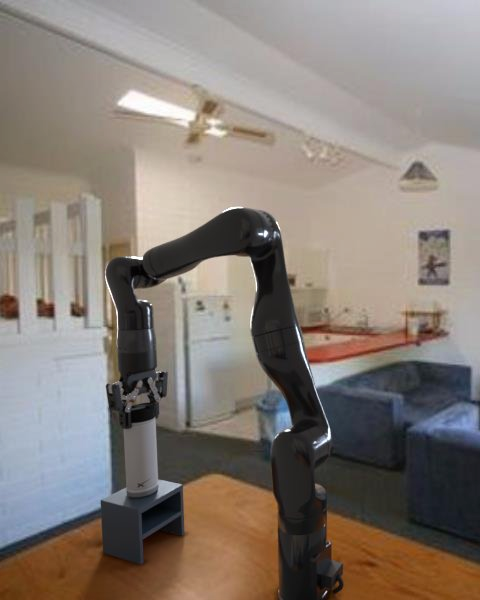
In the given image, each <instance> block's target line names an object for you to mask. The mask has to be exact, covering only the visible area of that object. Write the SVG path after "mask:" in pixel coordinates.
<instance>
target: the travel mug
mask: <svg viewBox="0 0 480 600" xmlns="http://www.w3.org/2000/svg"><path fill="white" fill-rule="evenodd" d="M148 402H149V403H148ZM148 402H142V403H137V404H132V406H131V409H130V411H131V425H132V427H131V428H129V429H123V446H124V467H125V483H126V484H125V486H126V487H127V488H126V487H125V488H126V490H127V495H128V496H129V497H133V498H139V497H144V496H148V495H150V494H152V493H154V492H155V491H157V489H158V479H159V468H158V446H157V445H158V444H157V423H156V422H157V421H156V419H155V403H153V402H150V401H148Z"/></svg>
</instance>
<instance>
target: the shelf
mask: <svg viewBox="0 0 480 600" xmlns="http://www.w3.org/2000/svg"><path fill="white" fill-rule="evenodd" d="M126 488H127V487H124V488H121V489H120V490H118V491H115V492H114V493H112V494H110V495H108V496H106V497H103V498H101V499H100V500H99V501H100V519H101V536H102V537H101V539H102V553H103V554H105V555H108V556H112V557H116V558H119V559H121V560H124V561H128V562H131V563H135V564H138V565H142V564H143V563H144V541H143V540H144V539H146V538H148V537H149V536H151V535H152V534H154V533H156V532H157V531H159V530H160V531H163V532H166V533H169V534H170V533H171V534H174V535H177V536H184V535H185V533H186V532H185V505H184V485H183V484H182V483H177V482H172V481H168V480H164V479H159V478H158V489H157V491H155V492H154V493H152V494H150V495H148V496H144V497H139V498H133V497H129V496H128V495H127V490H126Z"/></svg>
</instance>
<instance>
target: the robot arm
mask: <svg viewBox="0 0 480 600" xmlns="http://www.w3.org/2000/svg"><path fill="white" fill-rule="evenodd" d="M230 256H231V257H232V256H235V257H241V258H242V257H243V258H249V260H250V264H251V268H252V271H253V276H254V282H255V293H254V299H253V303H252V307H251V313H250V319H249V331H250V336H251V340H252V344H253V348H254V353H255V356H256V359H257V362H258V364H259V366H260V368H261V369H262V371H263V372H264V373H265V375H266V376H267V377H268V378H269V380H270V381H271V382H272V383H273V384H274V385H275V386H276V388H277V389H278V390H279V391H280V393H281V395H282V396H283V398H284V400H285V403H286V406H287V409H288V412H289V417H290V424H291V425H290V426H289V427H287V428H285V429H283V430H281V431H280V432H278V433H277V434H276V435H275V436H274V438H273V439H272V443H271V447H270V453H269V454H270V457H269V458H270V459H269V461H270V474H271V486H272V487H271V488H272V494H273V497H274V499H275V502H276V505H277V507H276V508H277V564H278V565H277V566H278V567H277V568H278V574H277V575H278V591H277V593H278V594H277V596H278V600H324V599H325V598H326V597H327V595H328V594H329V592H330V591H331V590H332V589H333V590H332V594H333V595H337V594H338V593H339V592H341V591H342V589H343V588H344V585H345V584H344V583H345V582H344V580H343V578H342V576H343V575H344V563H343V562H341V561H337V560H333V559H332V555H333V552H332V551H333V550H332V549H333V548H332V545H333V544H332V542H331V541H329V540H328V494H327V490H326V489H325V488H324V486H323V485H321V484H319V483H316V479H315V470H316V469H318V468H319V467H320V466H321V465H323V464H324V463H326V462H327V461H328V460H329V459H330V457H331V456H332V454H333V450H334V437H333V432H332V429H331V426H330V423H329V420H328V417H327V416H326V412H325V409H324V407H323V405H322V402H321V399H320V396H319V393H318V390H317V387H316V386H317V385H316V382H315V379H314V376H313V371H312V368H311V365H310V364H311V363H310V361H309V358H308V353H307V349H306V344H305V341H304V336H303V331H302V327H301V325H300V320H299V317H298V314H297V310H296V307H295V302H294V298H293V293H292V289H291V285H290V280H289V277H288V272H287V265H286V258H285V250H284V243H283V238H282V232H281V228H280V225H279V223H278V221H277V220H276V218H275V217H274V215H273V214H272V213H270V212H268V211H266V210H262V209H257V208H251V207H244V206H235V207H230V208H228V209H226V210H224V211H222V212H221V213H219V214H217V215H216V216H214V217H213V218H211V219H210V220H208V221H207V222H205V223H204V224H202V225H200V226H198V227H197V228H195V229H193V230H192V231H190V232H188V233H186V234H184V235H182V236H179V237H177V238H175V239H172V240H170V241H167V242H164V243H161V244H159V245H156V246H154V247H152V248H150V249H148V250H147V251H145V252H144V254H143V255H142V256H115V257H112V258H111V259H110V260H109V261H108V262H107V264H106V266H105V271H104V273H105V274H104V275H105V281H106V285H107V287H108V290H109V293H110V295H111V298H112V302H113V304H114V307H115V310H116V324H117V325H116V329H117V332H116V353H117V370H118V372H119V374H120V376H119V379H118V381H116V382H112V383H110V382H108V383H106V384H105V391H106V397H107V404H108V410H109V411H112V412H117V413H118V420H119V421H118V424H119V427H121V429H122V430H124V429H129V428H131V427H132V425H131V411H130V409H131V406H133V405H134V404H133V403H135V402H136V400H137V397H139V396H140V395H143V394H144V395H145V397H146V398H147V400H148V402H147V403H149V402H153V403H155V420H156V419H159V415H160V401H161V400H162V399H163V398H166V397H167V395H168V380H169V379H168V378H169V377H168V376H169V372H168V371H166V370H156V368H158V357H157V356H158V355H157V353H158V352H157V335H156V334H157V333H156V329H155V314H154V313H155V312H154V304H153V303H152V302H151V301H149V300H145V299H140V298H139V297H138V296H137V294H136V293H137V292H136V291H135V290H144V289H150V288H154V287H157V286H159V285H161V284H162V283H164V282H166V281H167V280H168V279H173V278H174V277H178V276H180V275H184V274H186V273H188V272H191V271H193V270H194V269H196V268H197V267H198V266H199V265H200V264H201V263H202V262H205V261H207V260H210V259H213V258H214V259H215V258H220V257H221V258H222V257H230ZM337 583H338V586H337V587H335V586H336V585H337ZM334 587H335V588H334Z"/></svg>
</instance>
